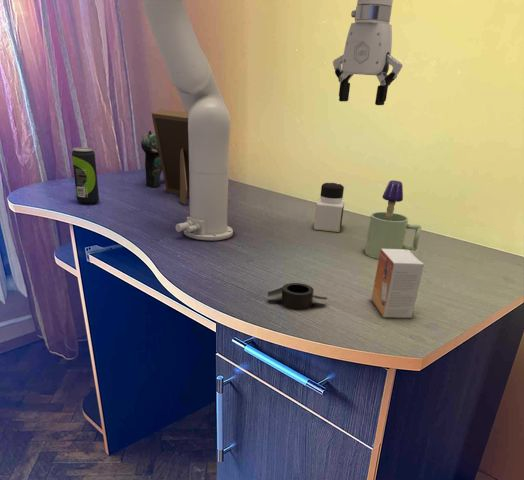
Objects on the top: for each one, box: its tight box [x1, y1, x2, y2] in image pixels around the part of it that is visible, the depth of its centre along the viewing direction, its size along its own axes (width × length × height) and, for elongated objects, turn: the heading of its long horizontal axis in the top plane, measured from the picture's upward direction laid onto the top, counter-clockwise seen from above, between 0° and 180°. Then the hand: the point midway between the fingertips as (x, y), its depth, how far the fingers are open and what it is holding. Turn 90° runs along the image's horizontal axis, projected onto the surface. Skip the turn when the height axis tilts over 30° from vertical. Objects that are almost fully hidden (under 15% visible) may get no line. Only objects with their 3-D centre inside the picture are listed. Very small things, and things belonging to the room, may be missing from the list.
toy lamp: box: [382, 179, 404, 221], centre depth 122 cm, size 5×5×17 cm
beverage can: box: [71, 147, 100, 206], centre depth 149 cm, size 6×6×15 cm
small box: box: [370, 249, 425, 319], centre depth 94 cm, size 8×6×10 cm
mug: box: [364, 211, 422, 260], centre depth 124 cm, size 12×9×9 cm
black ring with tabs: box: [267, 282, 328, 311], centre depth 96 cm, size 8×10×3 cm
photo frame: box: [151, 108, 190, 206], centre depth 159 cm, size 15×22×25 cm
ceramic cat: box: [140, 130, 163, 188], centre depth 178 cm, size 20×6×20 cm, turn 147°
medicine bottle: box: [313, 182, 345, 233], centre depth 141 cm, size 7×7×12 cm
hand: (361, 103), depth 121 cm, fingers open, 9 cm apart
